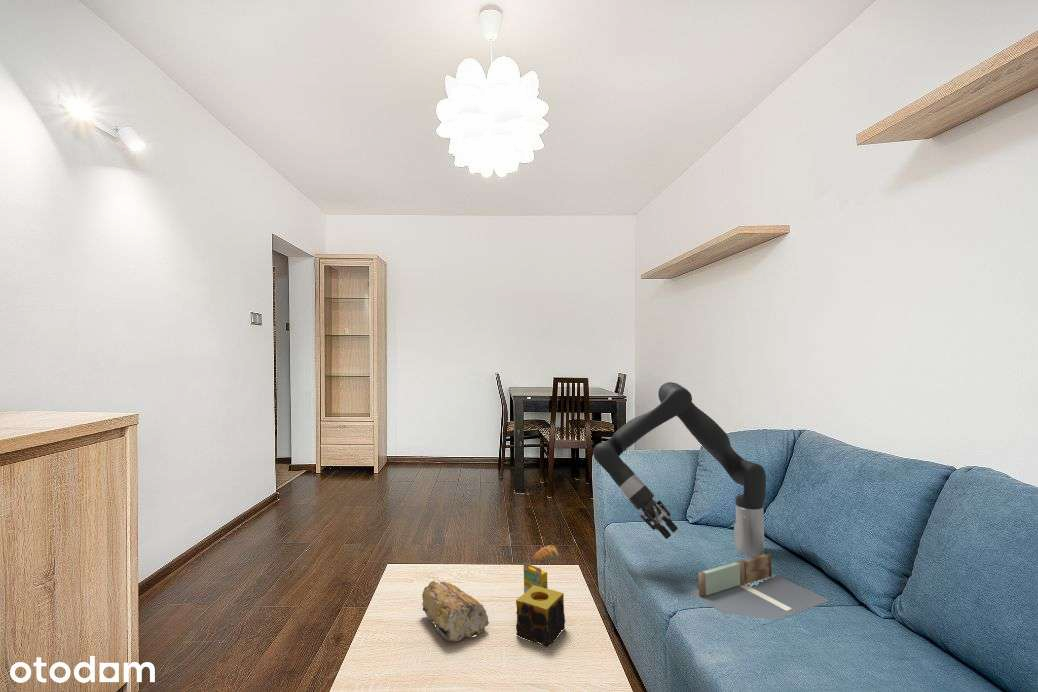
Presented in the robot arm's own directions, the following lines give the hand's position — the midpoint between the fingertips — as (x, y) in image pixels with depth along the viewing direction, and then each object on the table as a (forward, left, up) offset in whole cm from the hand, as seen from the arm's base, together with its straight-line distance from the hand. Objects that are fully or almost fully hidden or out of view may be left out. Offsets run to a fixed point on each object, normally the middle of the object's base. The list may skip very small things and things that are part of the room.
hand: (672, 533), depth 162 cm
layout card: (+19, +16, -16) cm, 29 cm away
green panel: (+11, +9, -15) cm, 21 cm away
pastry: (-36, -27, -16) cm, 48 cm away
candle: (+5, -51, -16) cm, 54 cm away
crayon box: (-10, -45, -16) cm, 49 cm away
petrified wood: (-10, -71, -16) cm, 74 cm away
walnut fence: (+11, +25, -15) cm, 31 cm away
